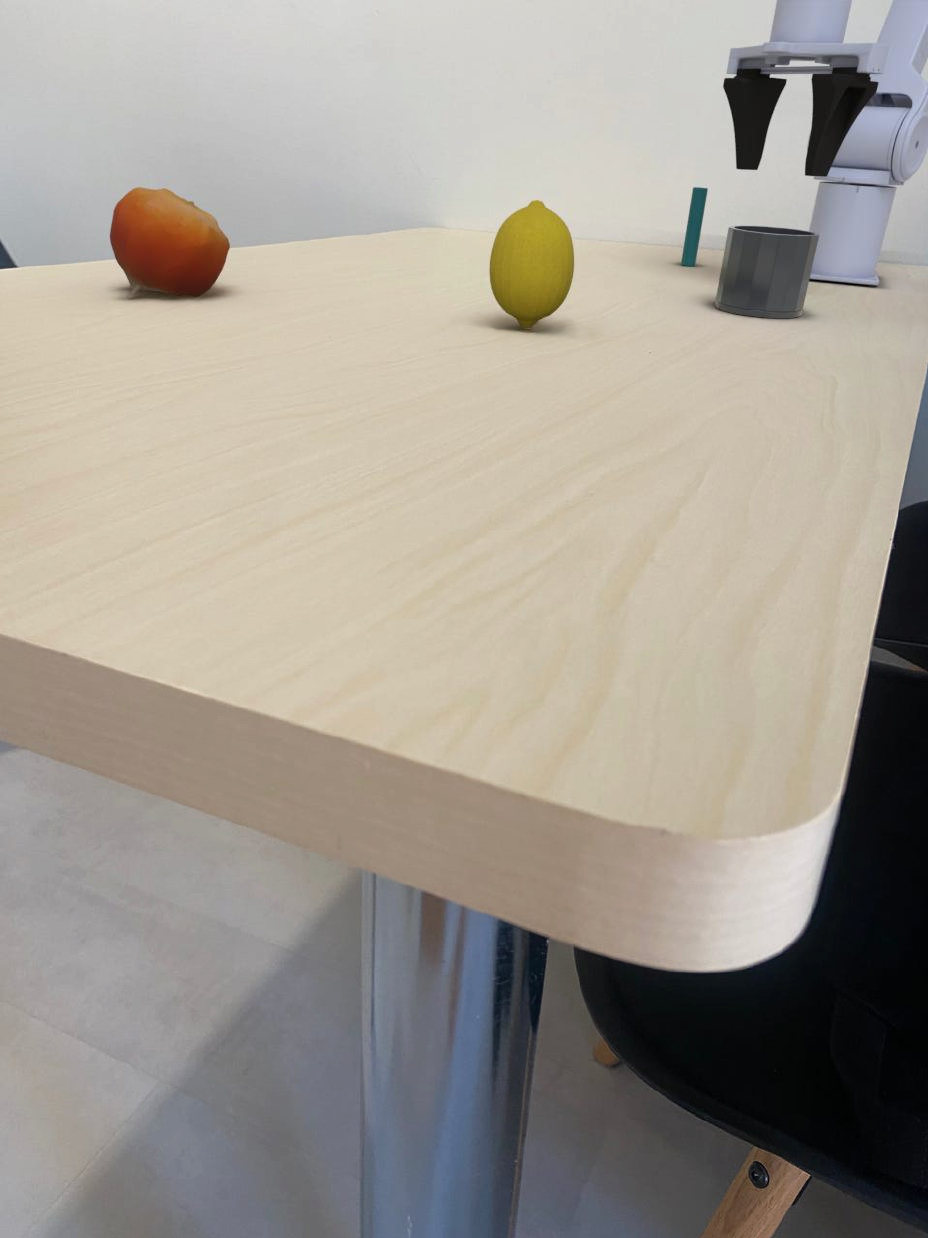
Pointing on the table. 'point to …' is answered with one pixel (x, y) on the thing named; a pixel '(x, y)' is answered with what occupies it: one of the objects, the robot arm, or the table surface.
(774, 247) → the tumbler
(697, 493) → the table surface
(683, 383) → the table surface
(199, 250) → the fruit
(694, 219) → the teal rectangular block
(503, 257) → the lemon
